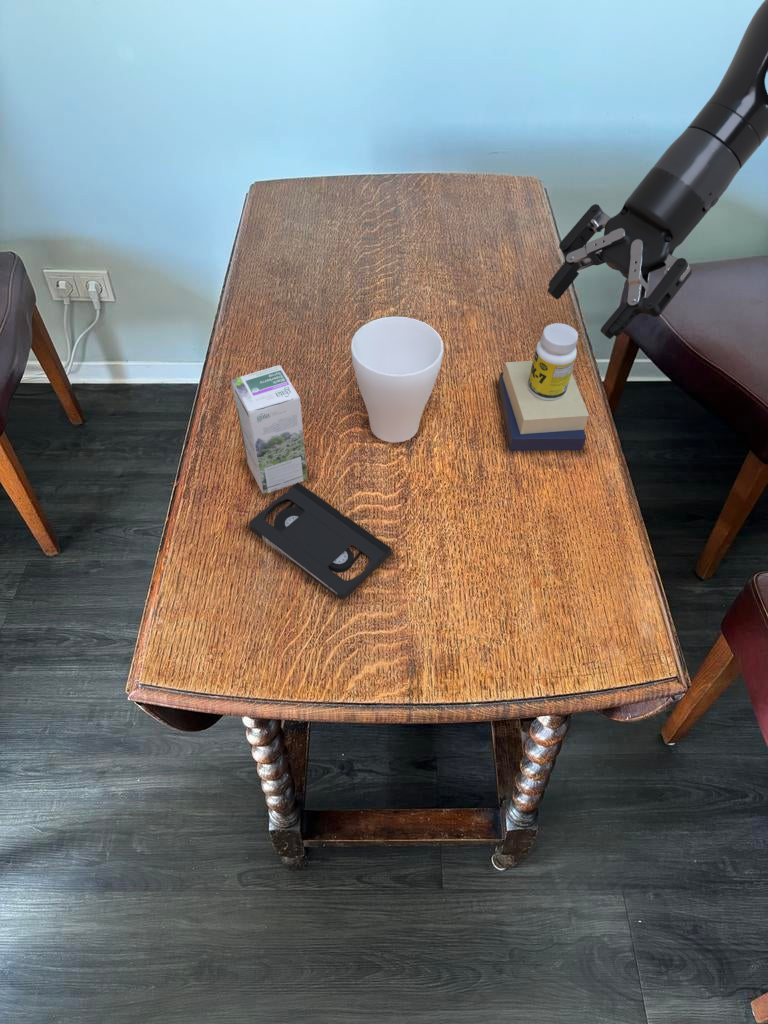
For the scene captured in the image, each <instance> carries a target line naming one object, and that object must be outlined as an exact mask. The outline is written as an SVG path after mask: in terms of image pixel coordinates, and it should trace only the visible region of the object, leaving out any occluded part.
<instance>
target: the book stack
mask: <svg viewBox="0 0 768 1024" xmlns="http://www.w3.org/2000/svg"><path fill="white" fill-rule="evenodd" d="M532 363H533V360H519V361H518V360H517V361H506V362H505V363H504V367H503V371H501V372H499V377H498V383H497V388H498V392H499V399H500V404H501V410H502V415H503V416H502V417H503V422H504V427H505V432H506V438H507V444H508V449H509V451H510V452H525V451H526V452H535V451H536V452H537V451H538V452H541V451H542V452H545V451H546V452H547V451H549V452H550V451H551V452H552V451H556V452H557V451H583V448H584V446H585V443H586V439H587V436H586V432H585V429H586V426H587V423H588V421H589V417H590V414H589V411H588V409H587V407H586V404H585V402H584V399H583V396H582V394H581V391H580V389H579V387H578V384H577V382H576V380H575V379H576V378H575V377H574V374H573V372H572V373H571V376H570V380H569V383H568V387H567V390H566V393H565V394H564V395H563V396H562V397H561V398H559V399H556V400H542V399H539V398H537V397H536V396H534V395H533V394H532V393H531V392H530V390H529V388H528V381H529V377H530V372H531V368H532Z"/></svg>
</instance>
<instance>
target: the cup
mask: <svg viewBox="0 0 768 1024" xmlns="http://www.w3.org/2000/svg"><path fill="white" fill-rule="evenodd" d="M350 352H351V353H350V354H351V360H352V366H353V370H354V375H355V378H356V382H357V386H358V389H359V392H360V395H361V398H362V400H363V402H364V405H365V408H366V412H367V415H368V422H369V428H370V431H371V432H372V434H373V435H374V436H375V437H377V439H379V440H382V441H384V442H386V443H395V444H397V443H402V442H407V441H409V440H410V439H412V438H413V437H414V436H416V434H417V433H418V431H419V427H420V423H421V418H422V416H423V413H424V410H425V407H426V405H427V403H428V401H429V399H430V397H431V395H432V392H433V390H434V387H435V384H436V381H437V378H438V376H439V374H440V370H441V366H442V362H443V357H444V342H443V339H442V336H441V335H440V334H439V333H438V332H437V330H436V329H435V328H434V327H432V326H430V325H429V324H427V323H426V322H424V321H421V320H419V319H416V318H412V317H407V316H396V315H395V316H394V315H393V316H386V317H385V316H384V317H380V318H376V319H373V320H370V321H369V322H367V323H365V324H363V325H362V326H361V327H360V328H359V329H357V330H356V331H355V333H354V334H353V337H352V338H351V343H350Z"/></svg>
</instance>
